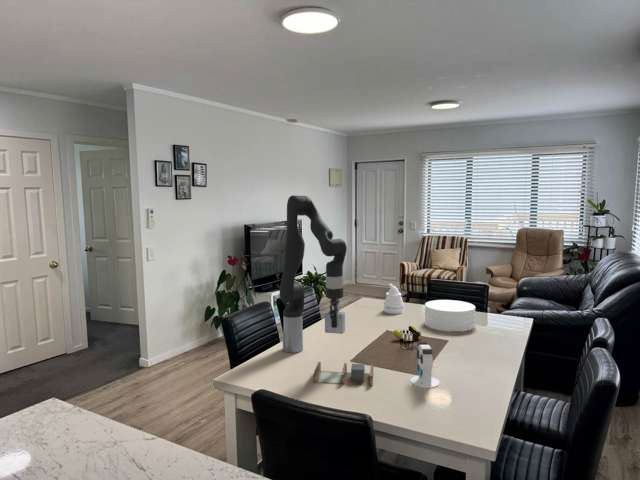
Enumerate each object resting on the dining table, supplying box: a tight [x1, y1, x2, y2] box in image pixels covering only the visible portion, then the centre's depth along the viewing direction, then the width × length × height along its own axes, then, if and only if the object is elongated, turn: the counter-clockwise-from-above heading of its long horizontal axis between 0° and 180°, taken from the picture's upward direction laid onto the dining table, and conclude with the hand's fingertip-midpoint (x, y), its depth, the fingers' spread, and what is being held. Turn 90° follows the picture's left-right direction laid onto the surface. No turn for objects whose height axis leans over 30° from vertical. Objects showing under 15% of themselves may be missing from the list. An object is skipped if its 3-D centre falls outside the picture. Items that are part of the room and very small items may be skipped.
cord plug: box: [350, 363, 366, 382], centre depth 175 cm, size 5×10×5 cm, turn 172°
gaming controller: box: [393, 325, 423, 342], centre depth 225 cm, size 15×6×10 cm
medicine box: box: [324, 310, 346, 335], centre depth 184 cm, size 8×4×9 cm, turn 71°
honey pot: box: [383, 283, 405, 315], centre depth 281 cm, size 13×13×18 cm
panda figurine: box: [409, 340, 441, 389], centre depth 172 cm, size 12×11×15 cm
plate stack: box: [424, 299, 476, 332], centre depth 251 cm, size 28×28×12 cm
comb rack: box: [313, 361, 374, 387], centre depth 174 cm, size 23×12×5 cm, turn 81°
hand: (334, 325), depth 184 cm, fingers closed on medicine box, 5 cm apart
